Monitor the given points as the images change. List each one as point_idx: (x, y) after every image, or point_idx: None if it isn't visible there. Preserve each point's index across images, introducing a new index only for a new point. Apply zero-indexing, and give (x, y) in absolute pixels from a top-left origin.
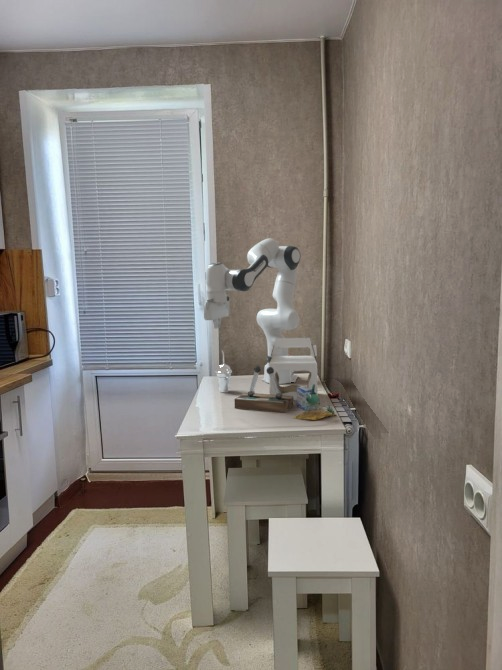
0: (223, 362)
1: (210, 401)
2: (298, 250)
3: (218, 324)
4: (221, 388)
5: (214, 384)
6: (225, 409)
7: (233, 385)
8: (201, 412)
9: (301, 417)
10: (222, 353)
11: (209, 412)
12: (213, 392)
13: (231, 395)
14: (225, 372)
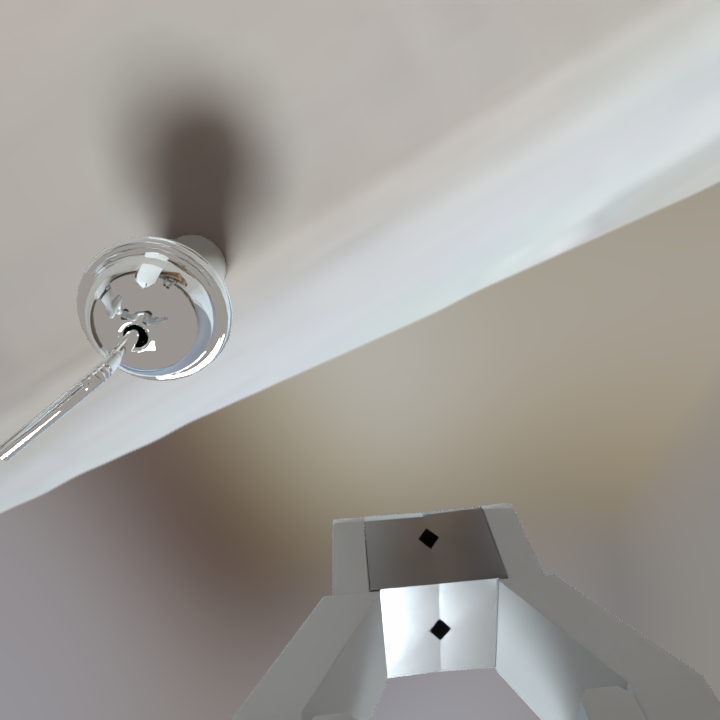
0: (135, 339)
1: (454, 217)
2: None
3: (463, 586)
4: (224, 274)
5: (73, 415)
6: (607, 9)
7: (20, 290)
8: (698, 134)
9: None
10: (79, 402)
11: (691, 82)
12: (252, 316)
13: (267, 160)
14: (203, 265)
